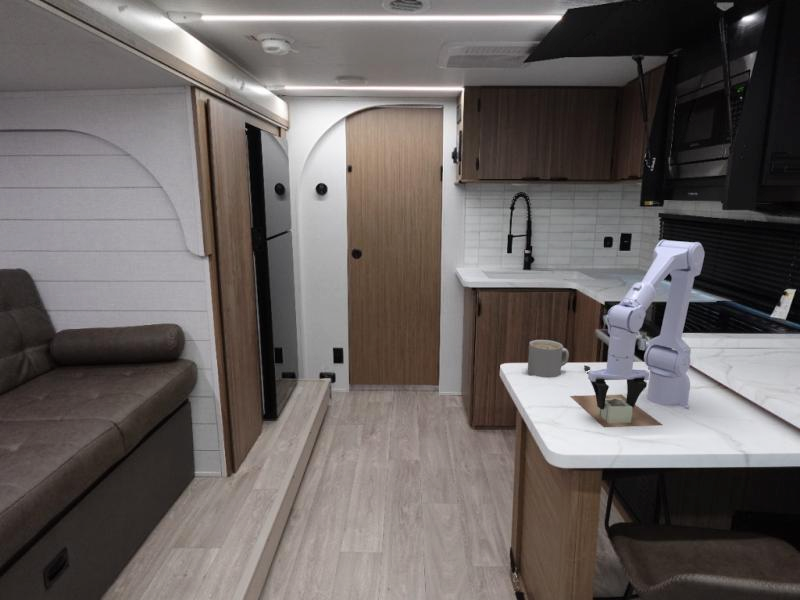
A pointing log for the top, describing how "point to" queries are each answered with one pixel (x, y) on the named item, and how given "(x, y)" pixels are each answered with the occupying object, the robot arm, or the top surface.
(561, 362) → the coffee mug
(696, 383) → the top surface
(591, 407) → the post board
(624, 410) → the collar
